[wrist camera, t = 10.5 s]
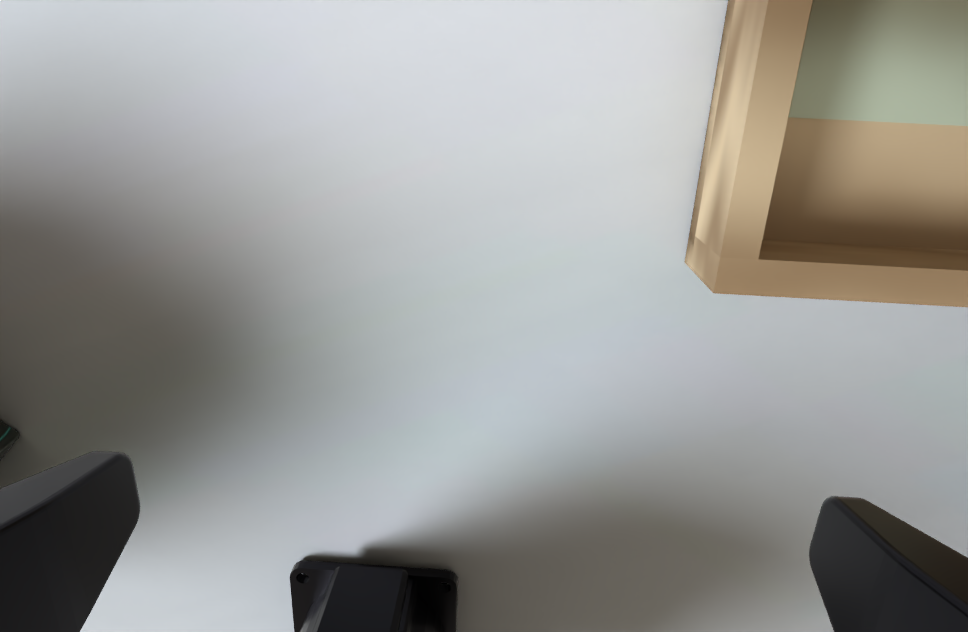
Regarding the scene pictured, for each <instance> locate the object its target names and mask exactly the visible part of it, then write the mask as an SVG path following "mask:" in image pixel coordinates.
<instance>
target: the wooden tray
mask: <svg viewBox="0 0 968 632" xmlns="http://www.w3.org/2000/svg"><path fill="white" fill-rule="evenodd" d="M685 263H686V264H687V265H688V266H689V268H690V269H691V270H692V271H693V272H694V273H695V274H696V275H697V276H698V277H699V278H700V279H701V280H702V281H703V283H704V284H705V285H706V286H707V287H708V288H709V289H710V290H711V291H712V292H713V293H720V294H738V295H756V296H774V297H792V298H810V299H829V300H847V301H865V302H883V303H901V304H919V305H937V306H955V307H968V0H728V5H727V11H726V17H725V23H724V29H723V35H722V41H721V47H720V53H719V59H718V65H717V71H716V77H715V83H714V89H713V95H712V101H711V107H710V113H709V119H708V125H707V131H706V137H705V143H704V149H703V155H702V161H701V167H700V173H699V179H698V185H697V191H696V197H695V203H694V209H693V215H692V221H691V227H690V233H689V239H688V245H687V251H686V257H685Z"/></svg>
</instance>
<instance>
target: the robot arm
mask: <svg viewBox="0 0 968 632" xmlns="http://www.w3.org/2000/svg"><path fill="white" fill-rule="evenodd" d="M139 514H140V501H139V496H138V490H137V485H136V480H135V474H134V469H133V464H132V461H131V459H130V457H129V456H128V455H126V454H125V453H121V452H106V451H94V452H90V453H88V454H85V455H83V456H80V457H78V458H75V459H73V460H70V461H68V462H65V463H63V464H60V465H58V466H55V467H53V468H50V469H48V470H45V471H43V472H41V473H38V474H36V475H33V476H31V477H28V478H26V479H23V480H21V481H18V482H16V483H13V484H11V485H8V486H6V487H3V488H1V489H0V632H80V630H81V628H82V626H83V625H84V623H85V621H86V619H87V618H88V616H89V614H90V612H91V610H92V608H93V606H94V604H95V603H96V601H97V599H98V597H99V595H100V593H101V591H102V589H103V587H104V585H105V583H106V581H107V580H108V578H109V576H110V574H111V572H112V570H113V568H114V566H115V564H116V562H117V560H118V559H119V557H120V555H121V553H122V551H123V549H124V547H125V545H126V543H127V541H128V539H129V537H130V536H131V534H132V532H133V530H134V528H135V526H136V524H137V521H138V518H139ZM809 558H810V564H811V568H812V571H813V574H814V577H815V580H816V582H817V585H818V588H819V591H820V594H821V596H822V599H823V602H824V605H825V608H826V610H827V613H828V616H829V619H830V622H831V624H832V627H833V630H834V632H968V558H967V557H965V556H964V555H962V554H960V553H958V552H957V551H955V550H953V549H951V548H949V547H948V546H946V545H944V544H942V543H941V542H939V541H937V540H935V539H934V538H932V537H930V536H928V535H927V534H925V533H923V532H921V531H920V530H918V529H916V528H914V527H912V526H911V525H909V524H907V523H905V522H904V521H902V520H900V519H898V518H897V517H895V516H893V515H891V514H890V513H888V512H886V511H884V510H883V509H881V508H879V507H877V506H875V505H874V504H872V503H870V502H868V501H867V500H865V499H861V498H855V497H838V496H831V497H829V498H827V499H826V500H825V501H824V502H823V504H822V507H821V510H820V513H819V517H818V520H817V524H816V527H815V531H814V534H813V538H812V541H811V544H810V551H809ZM301 573H304V574H306V575H308V576H305V575H302V574H301ZM444 582H445V583H448V584H449V585H443V584H441V583H444ZM290 584H291V596H292V608H293V619H294V631H295V632H456V622H457V596H458V578H457V576H456V575H455V573H453V572H451V571H449V570H440V569H425V568H410V567H394V566H379V565H364V564H349V563H333V562H318V561H300V562H297V563H296V564H295V565H294V567H293V569H292V572H291V574H290Z"/></svg>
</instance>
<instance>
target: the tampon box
mask: <svg viewBox="0 0 968 632" xmlns="http://www.w3.org/2000/svg"><path fill="white" fill-rule="evenodd" d="M18 438H19V433H18V432H17V431H16V430H14V429H13V428H11V427H9V426H8V425H6V424H5V423H3V422H2V421H0V460H1V459H2V458H3V456H4V455H5V454H6V453H7V451H8V450H9V449H10V448H11V446H12V445H13V444H14V442H15V441H16V440H17V439H18Z"/></svg>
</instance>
